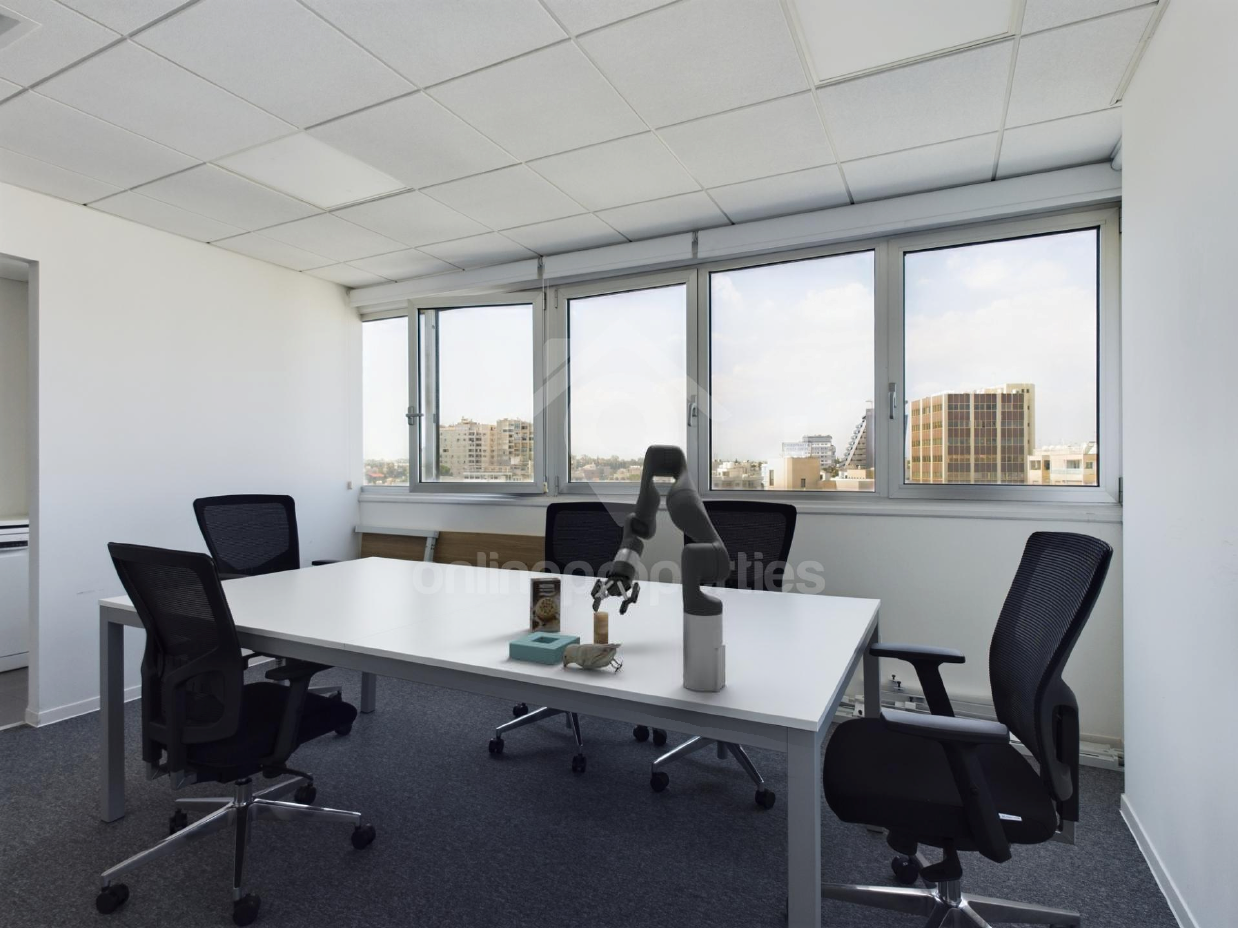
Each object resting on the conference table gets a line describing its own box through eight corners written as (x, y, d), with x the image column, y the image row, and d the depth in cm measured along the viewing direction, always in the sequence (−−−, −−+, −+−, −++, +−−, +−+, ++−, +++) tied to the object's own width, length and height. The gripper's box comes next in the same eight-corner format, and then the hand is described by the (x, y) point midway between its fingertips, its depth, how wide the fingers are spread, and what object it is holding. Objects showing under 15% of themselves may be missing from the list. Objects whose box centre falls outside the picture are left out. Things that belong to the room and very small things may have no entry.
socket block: (580, 651, 181) (580, 636, 181) (553, 664, 168) (553, 649, 168) (537, 645, 187) (537, 631, 187) (509, 657, 174) (509, 642, 174)
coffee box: (532, 633, 201) (532, 581, 201) (529, 628, 207) (529, 577, 208) (561, 631, 204) (561, 579, 204) (557, 626, 210) (557, 576, 210)
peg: (610, 647, 185) (610, 612, 185) (604, 651, 181) (604, 615, 181) (597, 645, 186) (597, 611, 186) (590, 649, 183) (590, 613, 183)
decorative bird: (567, 663, 170) (567, 635, 170) (625, 670, 164) (625, 640, 164) (558, 669, 165) (558, 640, 165) (618, 676, 159) (618, 646, 159)
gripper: (600, 558, 199) (581, 602, 188) (642, 560, 192) (626, 606, 182) (607, 573, 203) (590, 616, 193) (649, 576, 197) (634, 621, 187)
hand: (607, 611), depth 187 cm, fingers open, 8 cm apart
